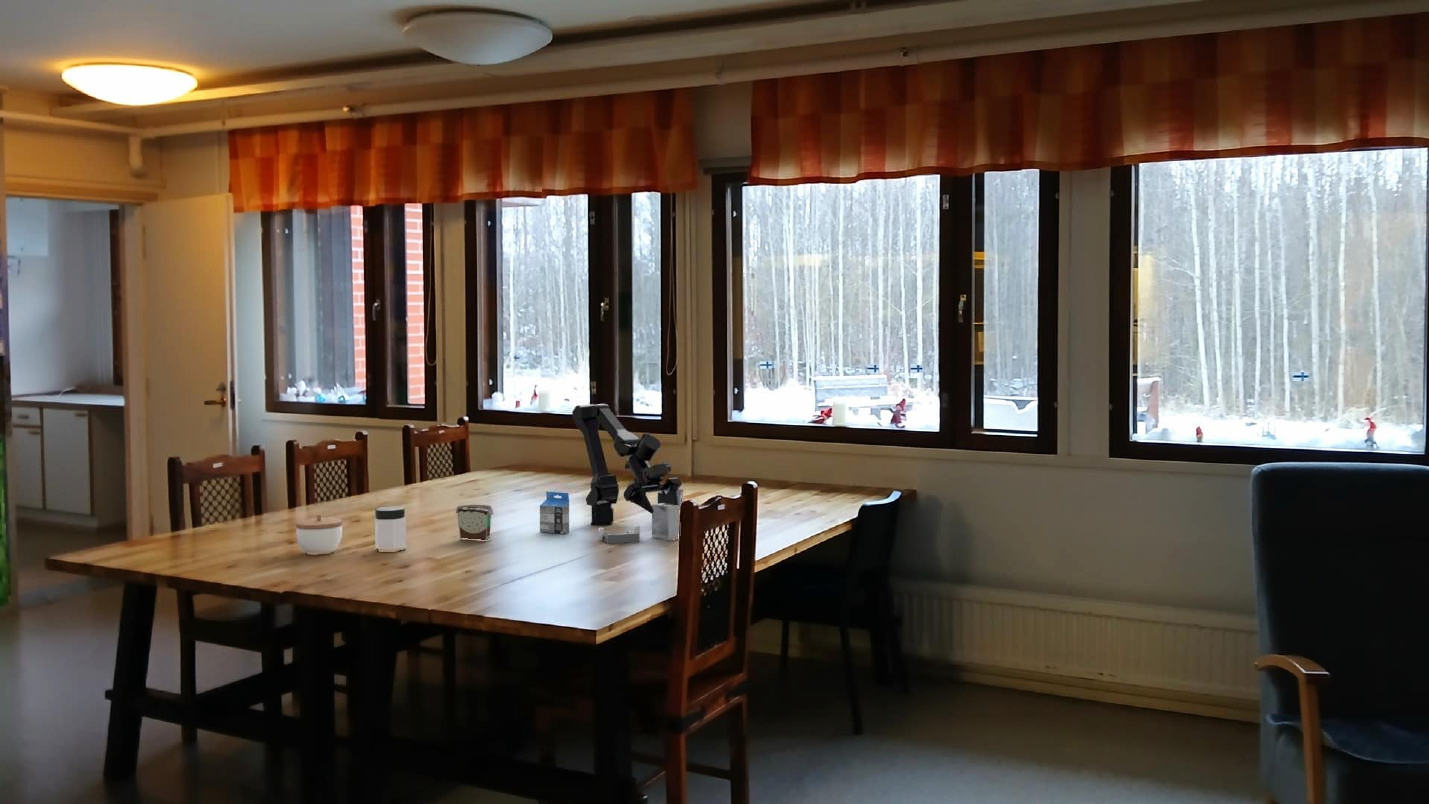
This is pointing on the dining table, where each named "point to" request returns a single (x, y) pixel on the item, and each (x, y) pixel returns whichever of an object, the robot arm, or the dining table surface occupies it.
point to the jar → (390, 527)
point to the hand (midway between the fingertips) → (665, 510)
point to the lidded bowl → (319, 533)
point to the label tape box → (555, 513)
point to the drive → (665, 521)
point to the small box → (663, 500)
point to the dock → (619, 536)
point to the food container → (474, 521)
